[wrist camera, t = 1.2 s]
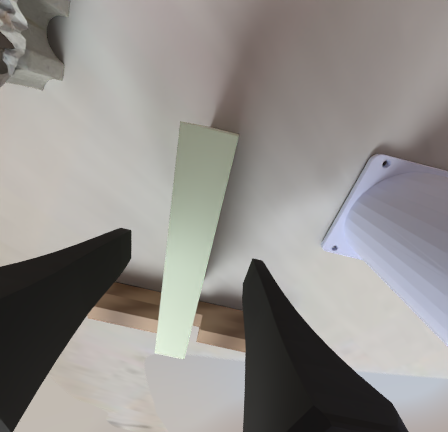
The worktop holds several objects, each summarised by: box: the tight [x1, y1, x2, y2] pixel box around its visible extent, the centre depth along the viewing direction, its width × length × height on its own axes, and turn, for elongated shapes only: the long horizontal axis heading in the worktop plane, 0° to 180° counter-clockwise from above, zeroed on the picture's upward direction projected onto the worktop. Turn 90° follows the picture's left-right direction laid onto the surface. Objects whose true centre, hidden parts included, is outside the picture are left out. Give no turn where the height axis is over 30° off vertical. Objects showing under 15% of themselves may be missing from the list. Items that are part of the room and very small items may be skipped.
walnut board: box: [87, 282, 246, 352], centre depth 19 cm, size 18×2×3 cm, turn 77°
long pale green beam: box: [155, 122, 239, 359], centre depth 12 cm, size 14×2×7 cm, turn 167°
